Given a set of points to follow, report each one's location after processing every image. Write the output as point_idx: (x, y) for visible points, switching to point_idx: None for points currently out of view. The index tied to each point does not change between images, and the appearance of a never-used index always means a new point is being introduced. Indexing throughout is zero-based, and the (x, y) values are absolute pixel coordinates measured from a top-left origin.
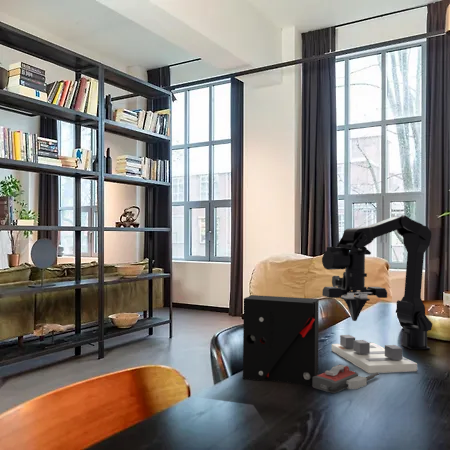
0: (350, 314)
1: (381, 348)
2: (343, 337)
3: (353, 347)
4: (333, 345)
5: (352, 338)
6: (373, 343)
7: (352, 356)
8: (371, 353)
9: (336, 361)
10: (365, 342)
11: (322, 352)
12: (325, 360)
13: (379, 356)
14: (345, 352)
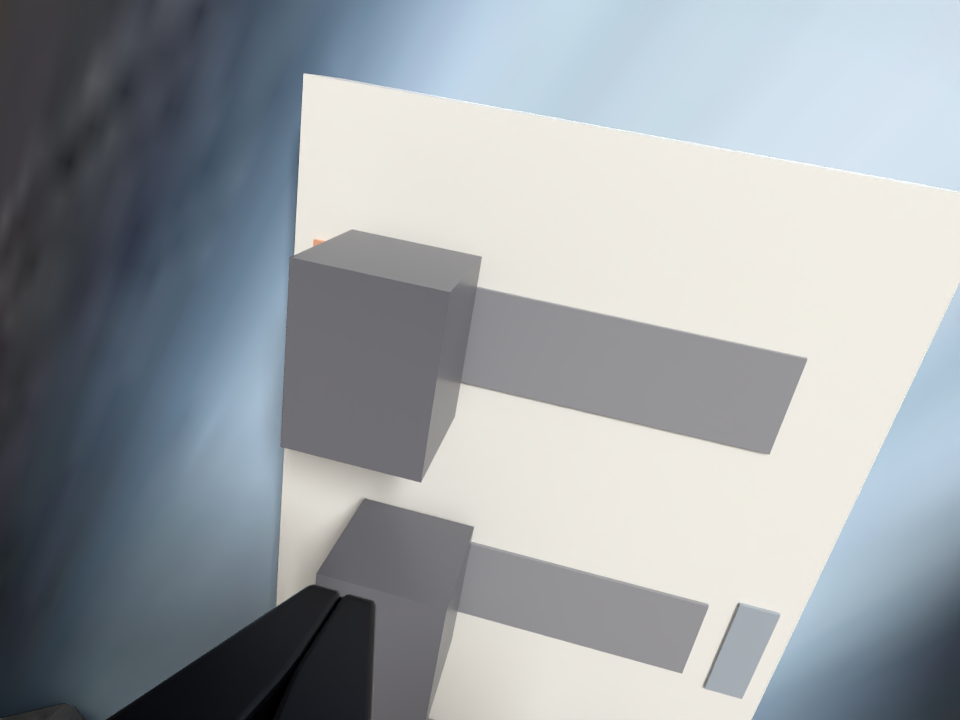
0: (186, 669)
1: (796, 507)
2: (288, 369)
3: (353, 515)
4: (302, 143)
5: (383, 464)
6: (954, 251)
7: (277, 592)
8: (499, 615)
9: (203, 460)
10: (391, 703)
11: (198, 131)
12: (124, 402)
13: (510, 696)
14: (285, 464)
